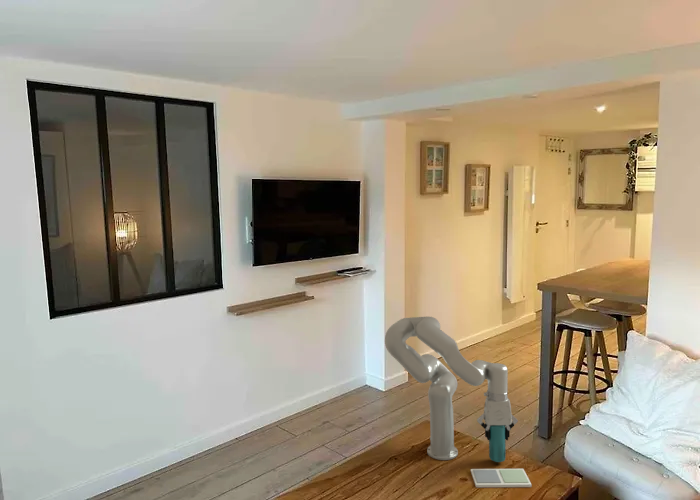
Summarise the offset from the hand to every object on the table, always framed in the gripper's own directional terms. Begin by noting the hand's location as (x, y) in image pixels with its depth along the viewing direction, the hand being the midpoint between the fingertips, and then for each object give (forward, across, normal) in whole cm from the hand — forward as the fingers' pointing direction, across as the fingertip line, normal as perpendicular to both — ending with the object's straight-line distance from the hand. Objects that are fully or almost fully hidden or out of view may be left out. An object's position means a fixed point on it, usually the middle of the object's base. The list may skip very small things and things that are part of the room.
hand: (497, 438), depth 206 cm
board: (+10, -2, -12) cm, 16 cm away
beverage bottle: (+10, 0, 0) cm, 10 cm away
